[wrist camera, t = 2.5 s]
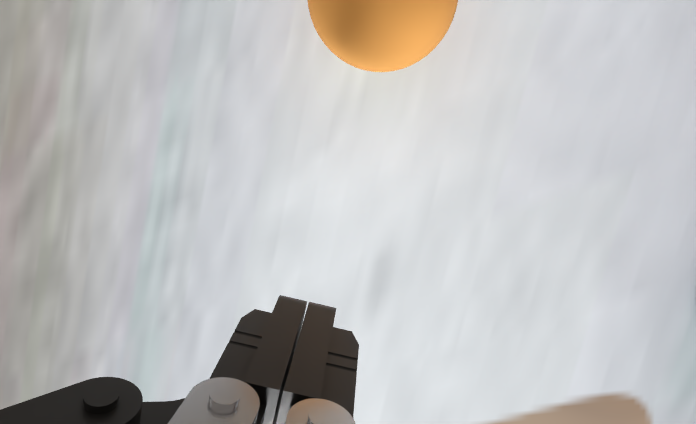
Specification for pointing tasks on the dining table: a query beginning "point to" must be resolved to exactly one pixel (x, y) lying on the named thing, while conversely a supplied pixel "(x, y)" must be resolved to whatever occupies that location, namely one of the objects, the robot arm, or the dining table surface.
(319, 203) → the dining table surface
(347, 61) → the ball
